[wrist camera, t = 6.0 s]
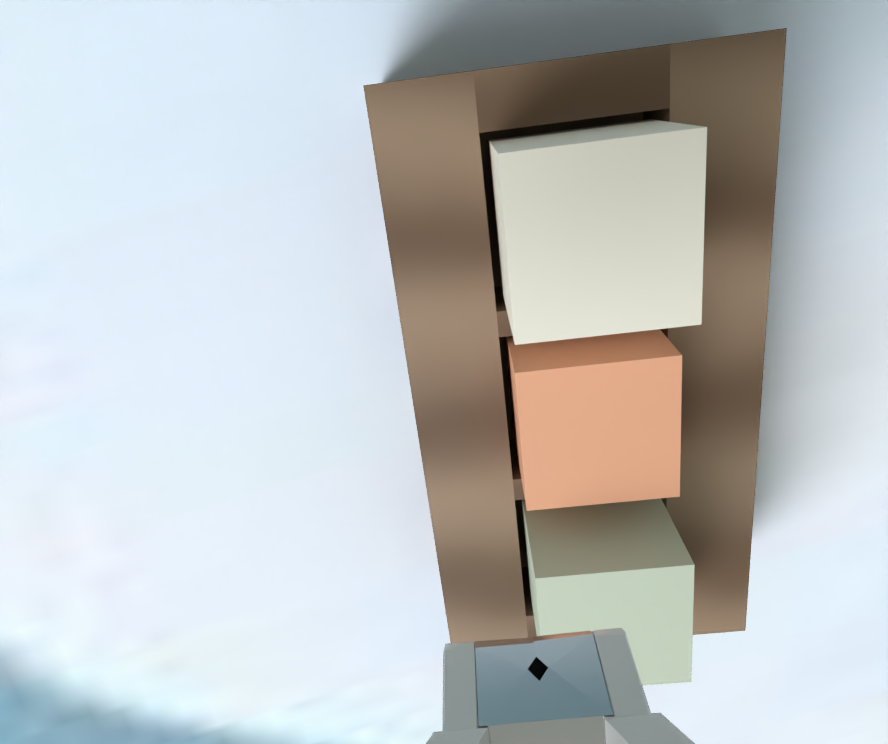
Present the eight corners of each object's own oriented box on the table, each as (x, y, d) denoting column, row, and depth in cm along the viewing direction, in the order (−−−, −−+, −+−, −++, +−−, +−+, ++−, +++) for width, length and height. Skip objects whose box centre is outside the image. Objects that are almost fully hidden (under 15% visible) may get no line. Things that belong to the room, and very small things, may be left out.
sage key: (521, 491, 26) (535, 578, 21) (651, 479, 25) (694, 564, 21) (530, 592, 28) (545, 692, 23) (651, 582, 27) (691, 681, 23)
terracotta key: (503, 320, 25) (514, 373, 20) (639, 305, 24) (682, 355, 20) (514, 438, 27) (526, 511, 22) (640, 425, 26) (679, 496, 22)
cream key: (488, 139, 21) (498, 153, 16) (650, 119, 20) (707, 127, 16) (502, 293, 23) (514, 344, 18) (650, 276, 22) (701, 324, 18)
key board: (379, 86, 23) (363, 85, 19) (725, 39, 23) (786, 28, 18) (452, 580, 32) (452, 654, 28) (706, 558, 31) (745, 630, 27)
